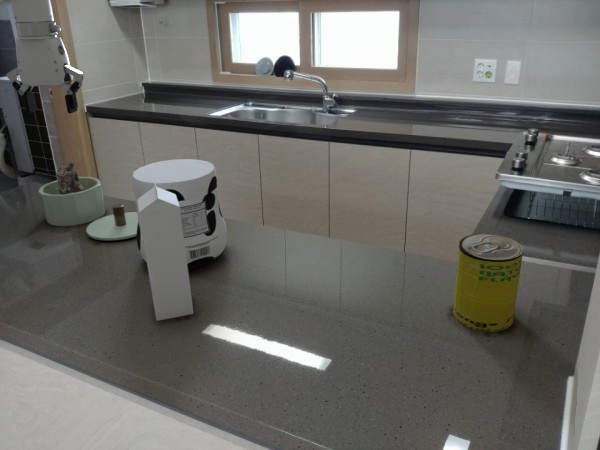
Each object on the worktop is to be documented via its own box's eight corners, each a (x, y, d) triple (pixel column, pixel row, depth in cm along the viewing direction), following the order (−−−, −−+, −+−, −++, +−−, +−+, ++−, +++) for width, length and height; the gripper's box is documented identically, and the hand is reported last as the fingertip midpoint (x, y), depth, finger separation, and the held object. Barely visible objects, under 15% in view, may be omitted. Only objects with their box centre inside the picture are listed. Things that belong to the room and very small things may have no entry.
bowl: (34, 225, 125) (26, 195, 122) (64, 204, 137) (58, 176, 134) (89, 226, 123) (83, 195, 120) (115, 205, 136) (109, 176, 133)
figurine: (53, 217, 128) (41, 168, 123) (74, 206, 134) (64, 160, 129) (77, 220, 126) (66, 171, 121) (97, 209, 132) (88, 162, 127)
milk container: (170, 234, 117) (159, 155, 110) (243, 243, 112) (236, 160, 105) (122, 271, 102) (105, 181, 95) (202, 283, 97) (191, 188, 90)
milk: (189, 296, 93) (174, 174, 84) (193, 314, 87) (178, 186, 79) (153, 303, 91) (134, 179, 82) (155, 321, 86) (135, 191, 77)
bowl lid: (74, 242, 115) (69, 218, 113) (105, 216, 129) (100, 194, 126) (140, 243, 113) (136, 218, 111) (164, 217, 127) (161, 194, 125)
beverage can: (525, 318, 83) (536, 248, 78) (487, 338, 79) (496, 265, 74) (478, 294, 90) (485, 229, 85) (440, 312, 86) (446, 243, 81)
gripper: (83, 29, 116) (96, 109, 123) (9, 30, 118) (26, 108, 125) (66, 31, 109) (80, 115, 116) (-13, 32, 111) (6, 115, 118)
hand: (52, 111), depth 120 cm, fingers open, 9 cm apart
